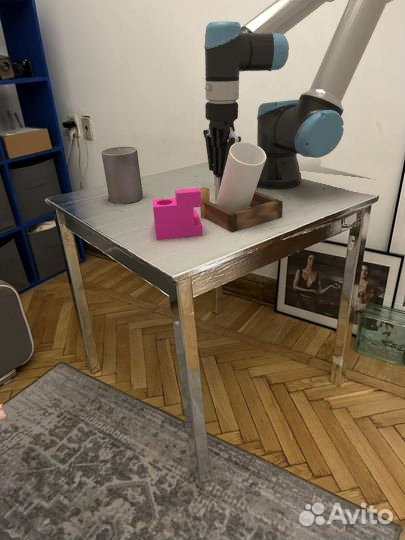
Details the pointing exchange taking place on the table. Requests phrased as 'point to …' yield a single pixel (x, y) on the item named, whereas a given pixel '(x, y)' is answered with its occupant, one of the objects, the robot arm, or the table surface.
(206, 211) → the bay
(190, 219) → the bracket
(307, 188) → the table surface
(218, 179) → the robot arm
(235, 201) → the cup
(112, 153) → the pillar candle
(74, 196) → the table surface
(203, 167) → the table surface
